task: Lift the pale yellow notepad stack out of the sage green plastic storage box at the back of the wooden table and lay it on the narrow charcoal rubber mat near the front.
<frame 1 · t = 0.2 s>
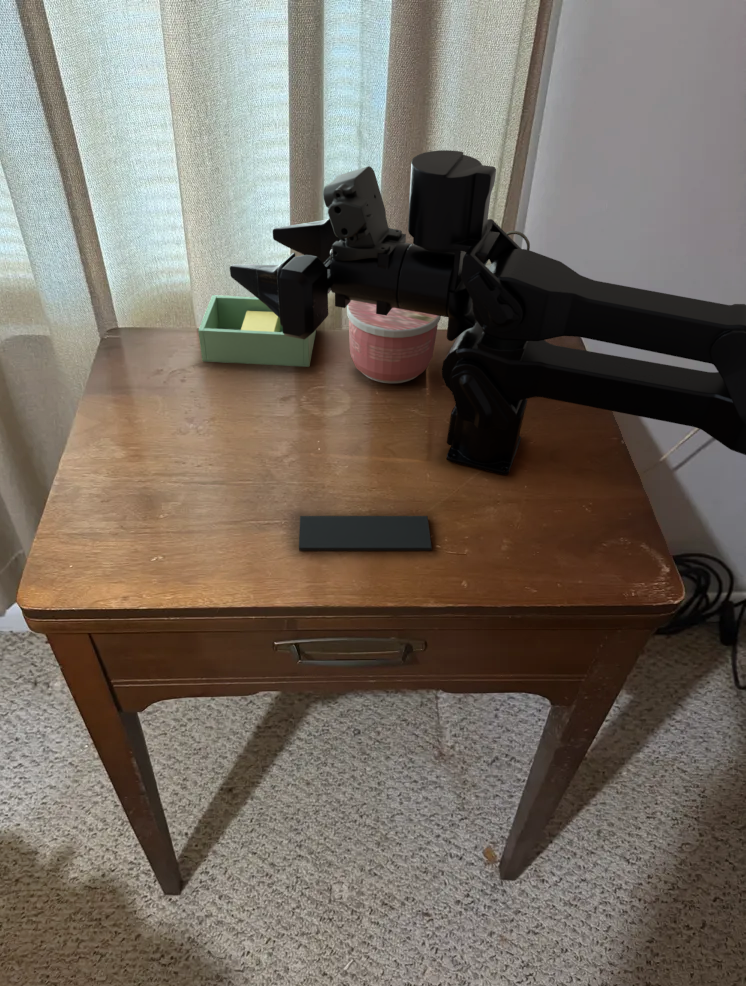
hand: (252, 251, 73), 17 cm above the table, tool horizontal, fingers open, 9 cm apart
storage box: (261, 348, 92), on the table
container: (390, 369, 89), on the table
desk mat: (364, 534, 70), on the table
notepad: (260, 344, 92), resting on storage box
alarm clock: (490, 367, 90), on the table
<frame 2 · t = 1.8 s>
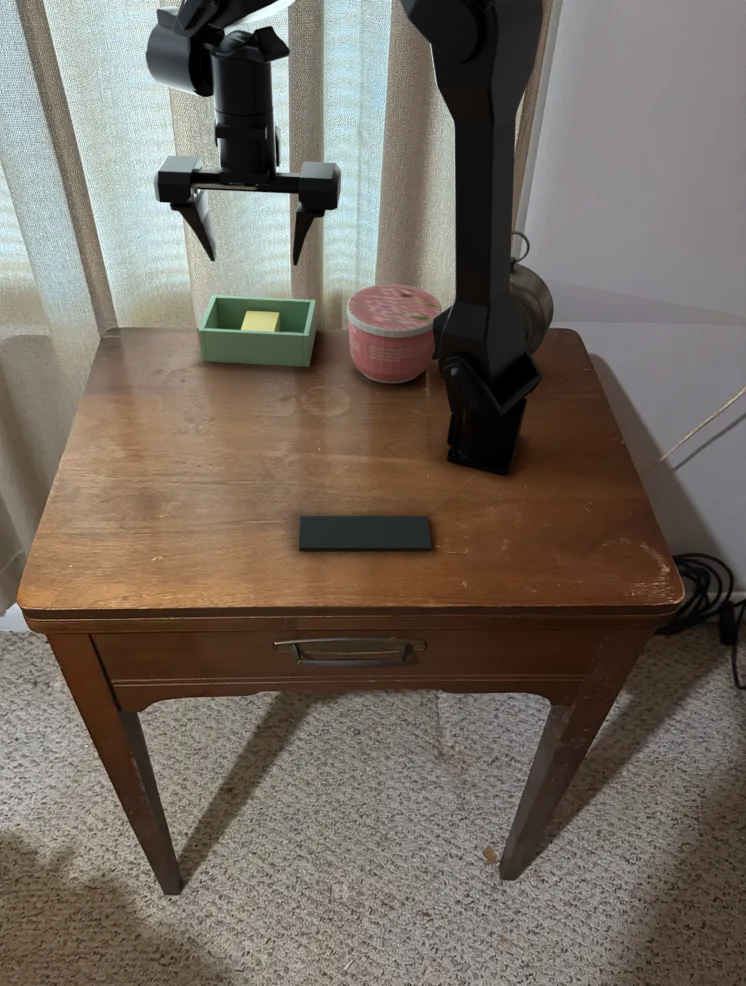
hand: (254, 261, 84), 11 cm above the table, tool pointing down, fingers open, 9 cm apart
nothing on the table moved.
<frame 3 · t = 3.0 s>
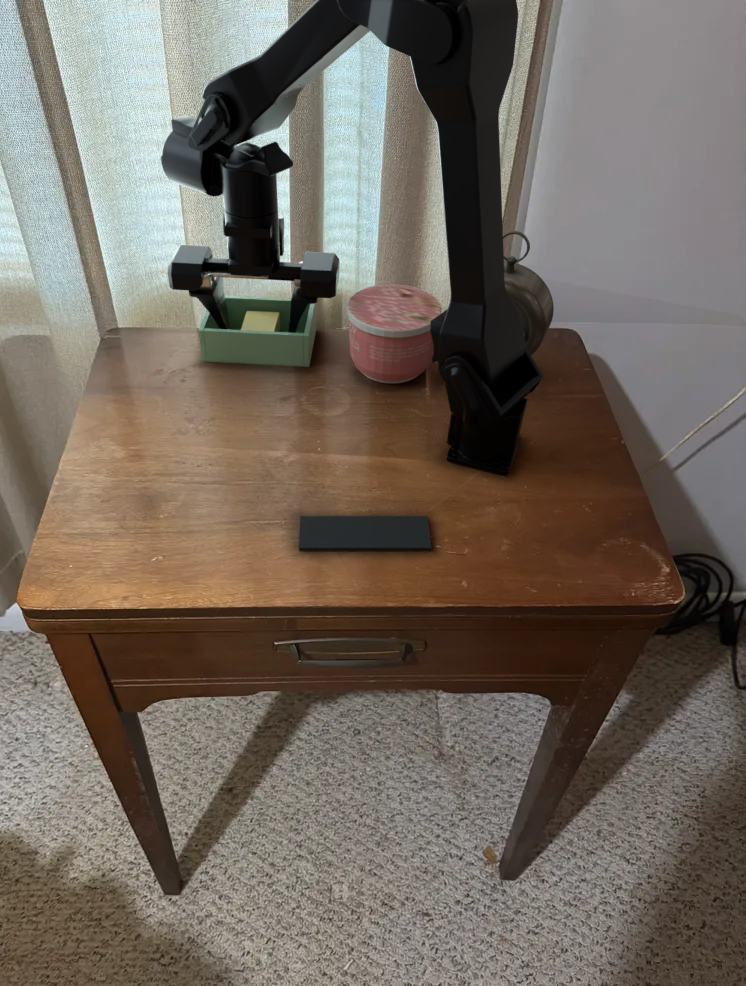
hand: (259, 338, 91), 1 cm above the table, tool pointing down, fingers open, 7 cm apart
nothing on the table moved.
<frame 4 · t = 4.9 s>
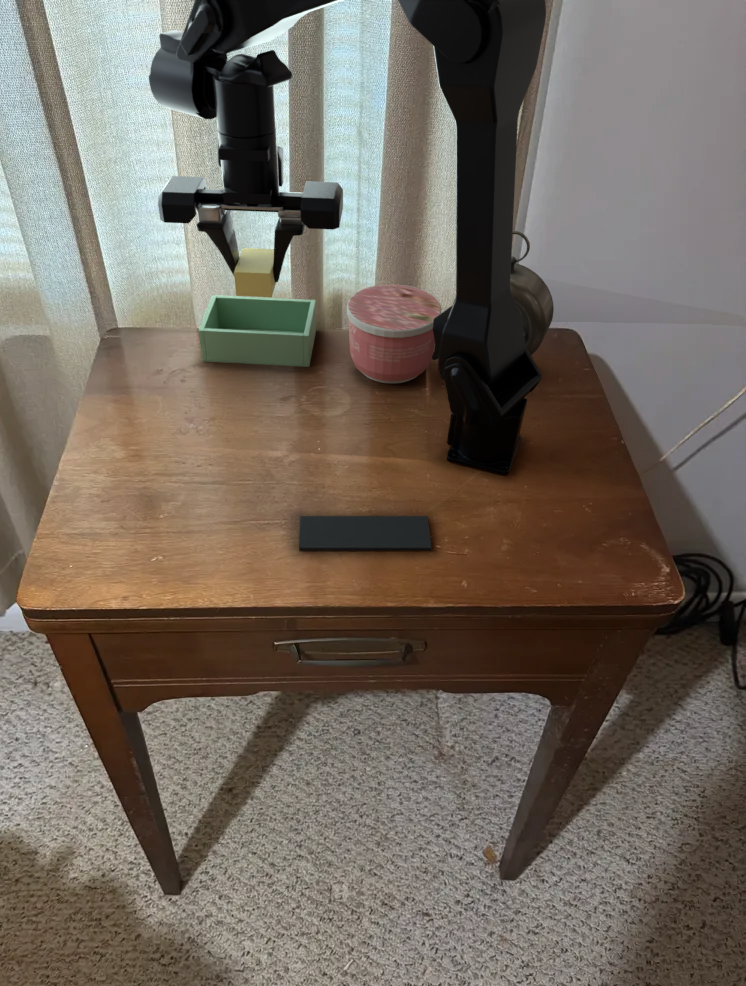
hand: (257, 279, 85), 9 cm above the table, tool pointing down, fingers closed on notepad, 4 cm apart
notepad: (258, 284, 85), point 9 cm above the table, touching gripper
everything else where it was.
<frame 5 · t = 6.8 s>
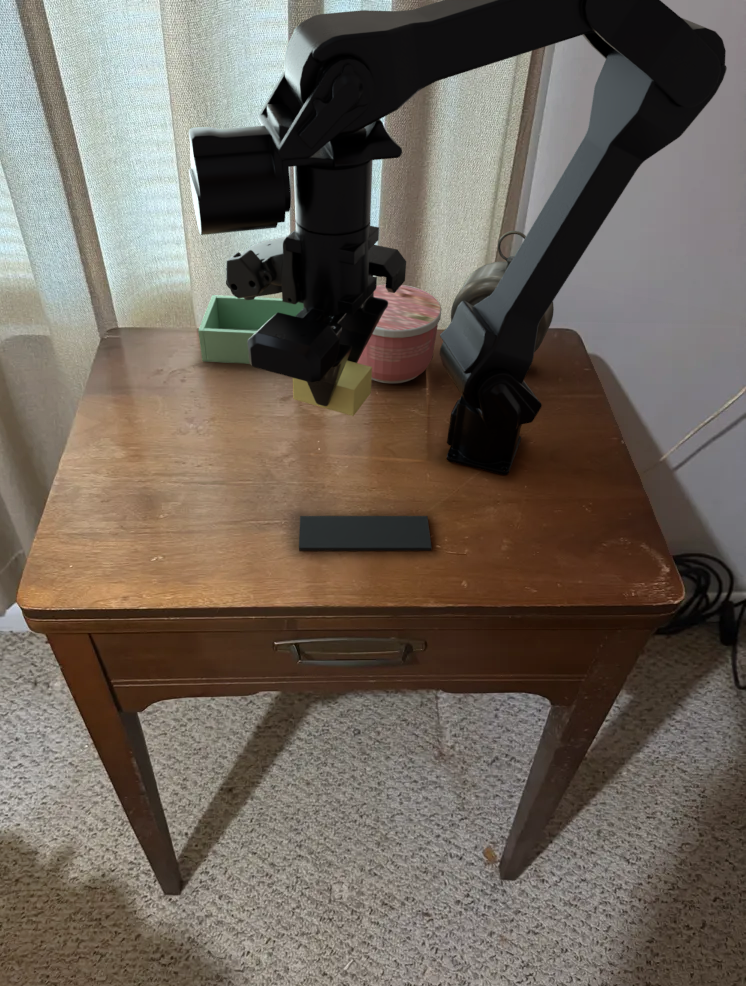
hand: (332, 391, 69), 10 cm above the table, tool pointing down, fingers closed on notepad, 4 cm apart
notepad: (332, 396, 69), point 9 cm above the table, touching gripper
everything else where it was.
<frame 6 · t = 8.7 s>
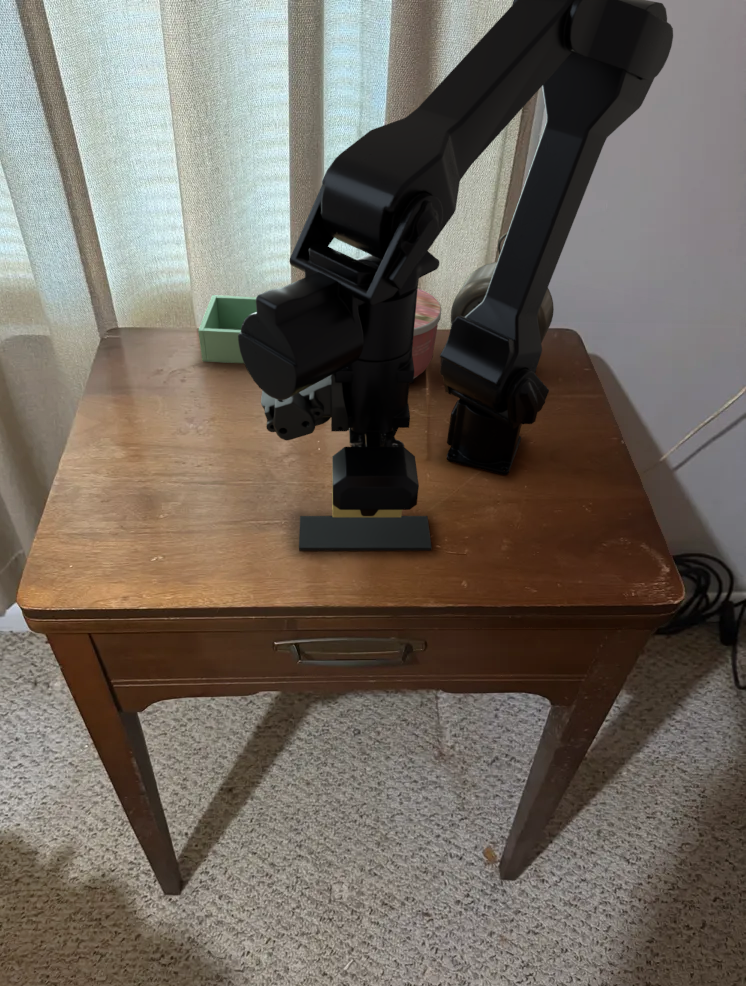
hand: (366, 497, 67), 5 cm above the table, tool pointing down, fingers closed on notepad, 4 cm apart
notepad: (366, 502, 67), point 4 cm above the table, touching gripper
everything else where it was.
when the fingers open (1 cm above the table, at t = 10.0 s): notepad stays where it is, resting on desk mat.
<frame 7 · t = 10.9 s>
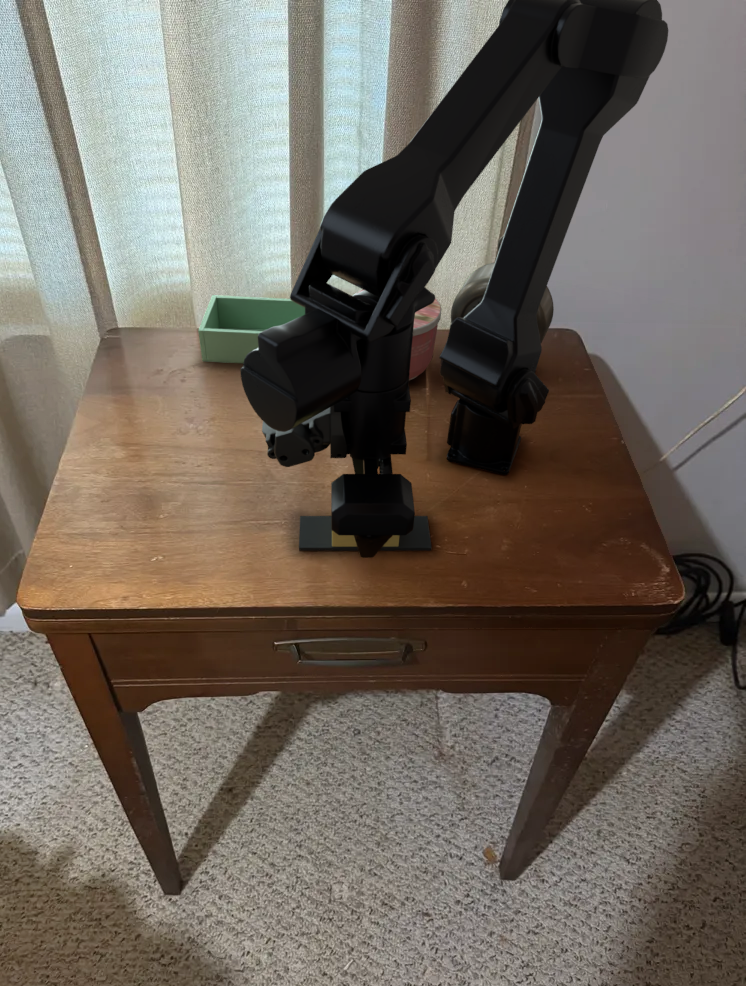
hand: (364, 519, 68), 2 cm above the table, tool pointing down, fingers open, 9 cm apart
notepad: (364, 531, 70), resting on desk mat
everything else where it was.
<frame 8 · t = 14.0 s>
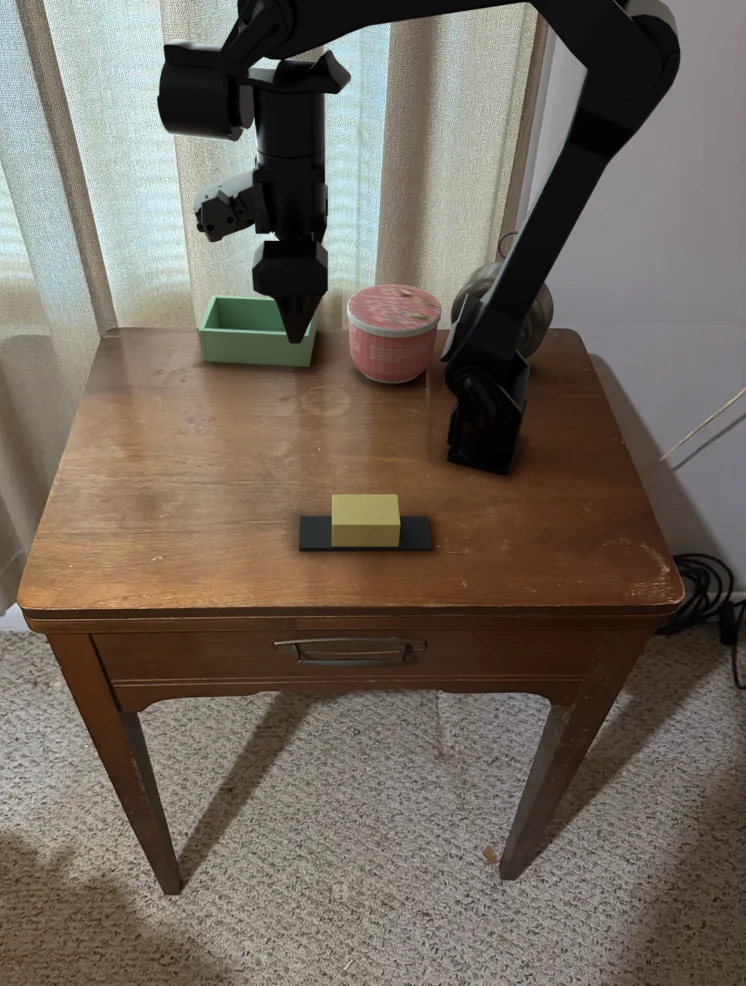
hand: (296, 317, 74), 12 cm above the table, tool pointing down, fingers open, 9 cm apart
nothing on the table moved.
at the end: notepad inside the target area on the desk mat (0.0 cm from its centre), point 0.4 cm above the desk mat's base; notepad touching desk mat; the gripper is holding nothing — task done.
